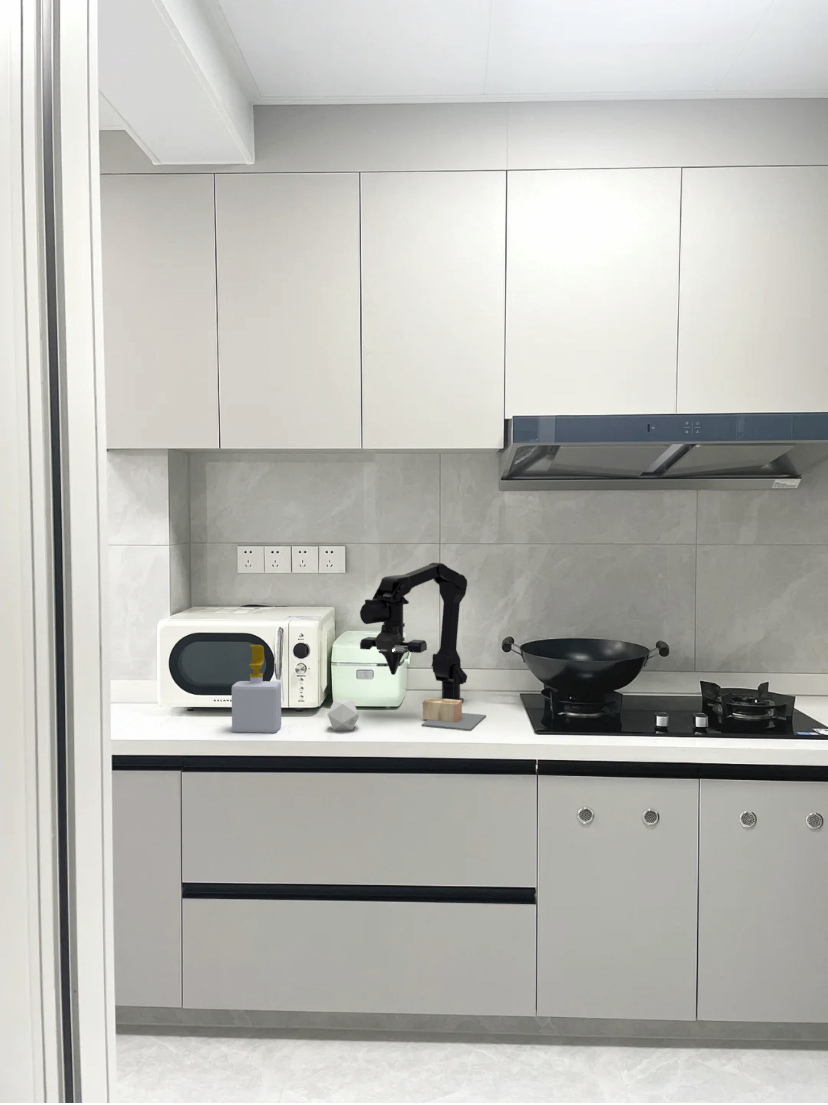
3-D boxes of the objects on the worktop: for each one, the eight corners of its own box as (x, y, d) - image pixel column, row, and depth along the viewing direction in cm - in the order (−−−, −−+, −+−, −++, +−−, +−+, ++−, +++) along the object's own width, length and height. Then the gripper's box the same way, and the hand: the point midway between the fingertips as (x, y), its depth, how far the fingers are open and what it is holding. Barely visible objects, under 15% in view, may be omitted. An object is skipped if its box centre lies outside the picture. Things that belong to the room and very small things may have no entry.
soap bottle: (231, 732, 221) (230, 645, 219) (238, 726, 227) (237, 641, 226) (276, 733, 220) (275, 646, 219) (281, 726, 227) (281, 642, 225)
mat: (439, 712, 242) (439, 710, 242) (486, 716, 238) (486, 714, 237) (421, 726, 227) (421, 724, 227) (470, 730, 223) (470, 729, 222)
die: (346, 737, 218) (365, 706, 221) (318, 720, 220) (338, 689, 222) (348, 740, 226) (366, 710, 229) (321, 723, 227) (340, 693, 230)
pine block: (428, 697, 237) (461, 700, 234) (428, 714, 238) (461, 717, 234) (422, 701, 233) (456, 704, 229) (422, 718, 233) (456, 722, 230)
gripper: (352, 622, 233) (352, 677, 234) (414, 626, 226) (414, 682, 227) (367, 617, 243) (367, 670, 244) (427, 620, 237) (427, 674, 238)
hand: (393, 674), depth 238 cm, fingers closed
